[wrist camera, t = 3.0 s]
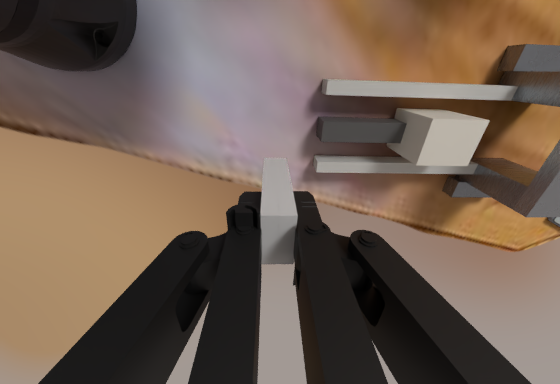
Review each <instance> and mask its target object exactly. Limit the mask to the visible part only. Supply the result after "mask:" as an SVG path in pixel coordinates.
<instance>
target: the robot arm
mask: <svg viewBox="0 0 560 384" xmlns="http://www.w3.org/2000/svg"><path fill="white" fill-rule="evenodd" d="M136 17H137V5H136V0H0V50H2V51H5V52H7V53H10V54H13V55H15V56H18V57H21V58H23V59H26V60H29V61H31V62H34V63H37V64H39V65H42V66H45V67H49V68H53V69H58V70H64V71H94V70H99V69H103V68H105V67H108V66H110V65H112V64H113V63H115V62H116V61H117V60H118V59H120V58H121V57H122V56H123V54H124V53H125V52H126V50H127V49H128V47H129V45H130V43H131V41H132V38H133V35H134V31H135V26H136ZM226 216H227V225H228V231H227V232H226V233H224V234H222V235H220V236H216V237H211V238H207V236H206V235H205V234H204V233H202V232H199V231H189V232H185V233H183V234H181V235H178V236H177V237H176V238H174V240H172V241H171V242H170V243H169V245H168V246H167V247H166V248H165V249H164V250H163V251H162V252H161V253H160V254H159V255H158V256H157V257H156V259H154V261H153V262H152V263H151V264H150V265H149V266H148V267H147V268H146V269H145V270H144V271H143V272H142V273H141V274H140V275H139V277H138V278H137V279H136V280H135V281H134V282H133V283H132V284H131V285H130V286H129V287H128V288H127V289H126V291H124V293H123V294H122V295H121V296H120V297H119V298H118V299H117V300H116V301H115V302H114V303H113V304H112V305H111V306H110V307H109V309H108V310H107V311H106V312H105V313H104V314H103V315H102V316H101V317H100V318H99V319H98V320H97V321H96V323H94V325H93V326H92V327H91V328H90V329H89V330H88V331H87V332H86V333H85V334H84V335H83V336H82V337H81V338H80V340H79V341H78V342H77V343H76V344H75V345H74V346H73V347H72V348H71V349H70V350H69V351H68V352H67V354H65V356H64V357H63V358H62V359H61V360H60V361H59V362H58V363H57V364H56V365H55V366H54V367H53V368H52V369H51V371H50V372H49V373H48V374H47V375H46V376H45V377H44V378H43V379H42V380H41V381H40V382H39V383H38V384H166V382H167V380H168V378H169V376H170V374H171V372H172V371H173V369H174V367H175V365H176V363H177V361H178V359H179V357H180V355H181V353H182V352H183V350H184V348H185V346H186V344H187V342H188V340H189V338H190V336H191V334H192V333H193V331H194V329H195V327H196V325H197V323H198V321H199V319H200V317H201V315H202V313H203V311H204V310H205V308H206V306H207V304H208V302H209V305H208V309H207V313H206V316H205V320H204V324H203V328H202V332H201V335H200V339H199V343H198V347H197V351H196V355H195V359H194V362H193V367H192V370H191V374H190V378H189V382H188V384H257V376H258V348H259V324H260V297H261V264H293V263H294V262H295V270H294V281H293V285H296V294H297V302H298V311H299V319H300V328H301V336H302V345H303V353H304V362H305V370H306V379H307V384H388V382H387V380H386V377H385V375H384V372H383V369H382V366H381V364H380V361H379V358H378V356H377V353H376V351H375V348H374V345H375V346H376V348H377V350H378V351H379V353H380V355H381V356H382V358H383V359H384V361H385V363H386V365H387V366H388V368H389V370H390V371H391V373H392V375H393V376H394V378H395V380H396V381H397V383H398V384H531V383H530V382H529V381H528V380H527V379H526V378H525V377H524V376H523V375H522V374H521V373H520V372H519V371H518V370H517V369H516V368H515V367H514V366H513V365H512V364H511V363H510V362H509V361H508V360H507V359H506V358H505V357H503V355H501V353H500V352H499V351H497V350H496V349H495V348H494V347H493V346H492V345H491V344H490V343H489V342H488V341H487V340H486V339H485V338H484V337H483V336H482V335H481V334H480V333H479V332H478V331H477V330H476V329H475V328H474V327H473V326H472V325H470V323H468V321H466V319H465V318H464V317H463V316H461V315H460V313H459V312H458V311H457V310H455V309H454V308H453V307H452V306H451V305H450V304H449V303H448V302H447V301H446V300H445V299H444V298H443V297H442V296H441V295H440V294H439V293H438V292H437V291H436V290H435V289H434V288H433V287H432V286H431V285H430V284H429V283H428V282H427V281H425V279H424V278H423V277H422V276H420V274H419V273H417V272H416V270H415V269H413V268H412V267H411V266H410V265H409V264H408V263H407V262H406V261H405V260H404V259H403V258H402V257H401V256H400V255H399V254H398V253H397V252H396V251H395V250H394V249H393V248H392V247H391V246H390V245H389V244H388V243H387V242H386V241H385V240H384V239H383V238H382V237H380V236H379V235H377V234H376V233H373V232H371V231H366V230H357V231H354V232H353V233H352V234H351V236H350V237H345V236H341V235H337V234H334V233H332V232H331V231H330V229H329V227H328V226H327V225H326V224H325V223H323V222H322V220H321V217H320V214H319V211H318V208H317V205H316V203H315V200H314V197H313V195H311V194H310V193H309V192H308V191H293V189H292V184H291V178H290V173H289V168H288V163H287V158H264V166H263V181H262V192H244V193H243V194H242V195H241V196H240V197H239V201H238V205H235V206H232V207H231V208H230V209H228V211H227V212H226ZM209 300H210V301H209ZM372 341H373V343H374V345H373V343H372Z"/></svg>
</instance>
